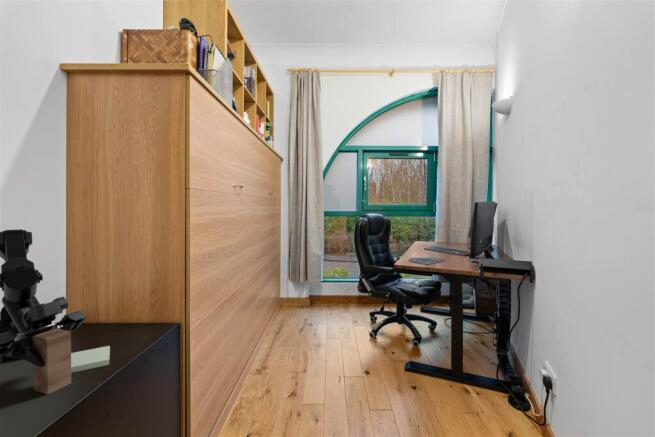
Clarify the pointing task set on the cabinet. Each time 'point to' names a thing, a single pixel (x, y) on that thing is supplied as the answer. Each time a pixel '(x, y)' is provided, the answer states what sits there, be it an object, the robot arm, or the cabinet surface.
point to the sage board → (90, 359)
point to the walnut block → (53, 360)
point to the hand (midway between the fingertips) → (56, 360)
